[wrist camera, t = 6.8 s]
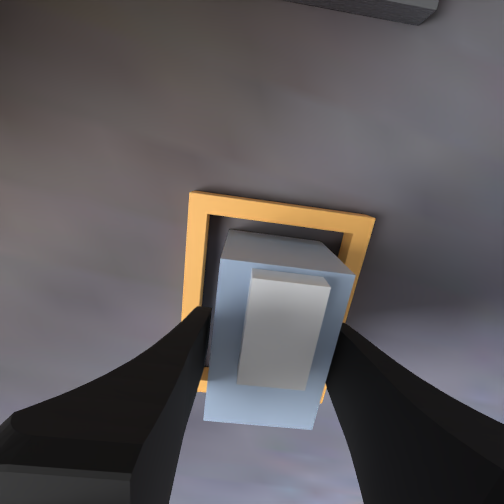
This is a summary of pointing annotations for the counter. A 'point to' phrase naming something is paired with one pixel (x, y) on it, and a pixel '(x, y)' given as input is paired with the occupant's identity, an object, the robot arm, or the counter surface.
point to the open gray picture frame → (381, 8)
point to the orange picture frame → (268, 211)
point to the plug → (274, 329)
